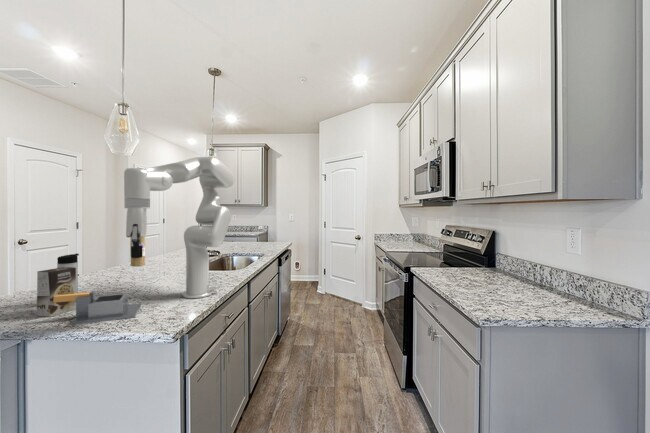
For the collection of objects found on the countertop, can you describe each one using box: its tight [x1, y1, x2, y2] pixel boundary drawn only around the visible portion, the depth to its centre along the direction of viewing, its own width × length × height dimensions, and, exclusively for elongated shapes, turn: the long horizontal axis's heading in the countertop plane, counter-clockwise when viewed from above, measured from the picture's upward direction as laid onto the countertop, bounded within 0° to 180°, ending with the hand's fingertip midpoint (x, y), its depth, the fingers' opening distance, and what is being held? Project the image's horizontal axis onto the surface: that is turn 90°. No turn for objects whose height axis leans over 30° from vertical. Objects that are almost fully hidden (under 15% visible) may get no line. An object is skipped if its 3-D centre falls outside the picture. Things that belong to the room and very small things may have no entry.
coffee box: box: [36, 267, 76, 318], centre depth 108 cm, size 9×6×16 cm
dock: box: [70, 292, 142, 326], centre depth 107 cm, size 18×14×8 cm
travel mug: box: [56, 253, 80, 294], centre depth 118 cm, size 6×7×20 cm
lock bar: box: [54, 290, 96, 303], centre depth 103 cm, size 11×3×3 cm, turn 115°
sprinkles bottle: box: [129, 232, 146, 267], centre depth 102 cm, size 5×5×14 cm
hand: (138, 255), depth 102 cm, fingers closed on sprinkles bottle, 4 cm apart
